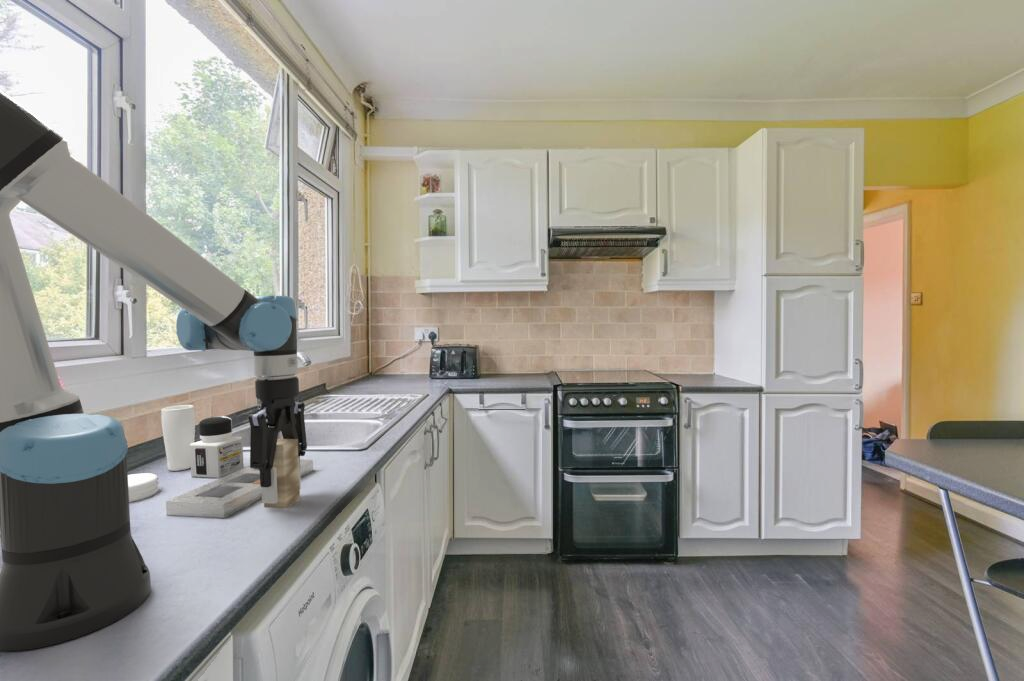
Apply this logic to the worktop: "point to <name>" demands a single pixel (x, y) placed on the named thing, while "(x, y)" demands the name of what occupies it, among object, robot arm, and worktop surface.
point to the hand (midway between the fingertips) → (282, 495)
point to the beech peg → (286, 473)
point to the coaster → (142, 486)
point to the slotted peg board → (224, 494)
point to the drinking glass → (178, 435)
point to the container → (216, 449)
